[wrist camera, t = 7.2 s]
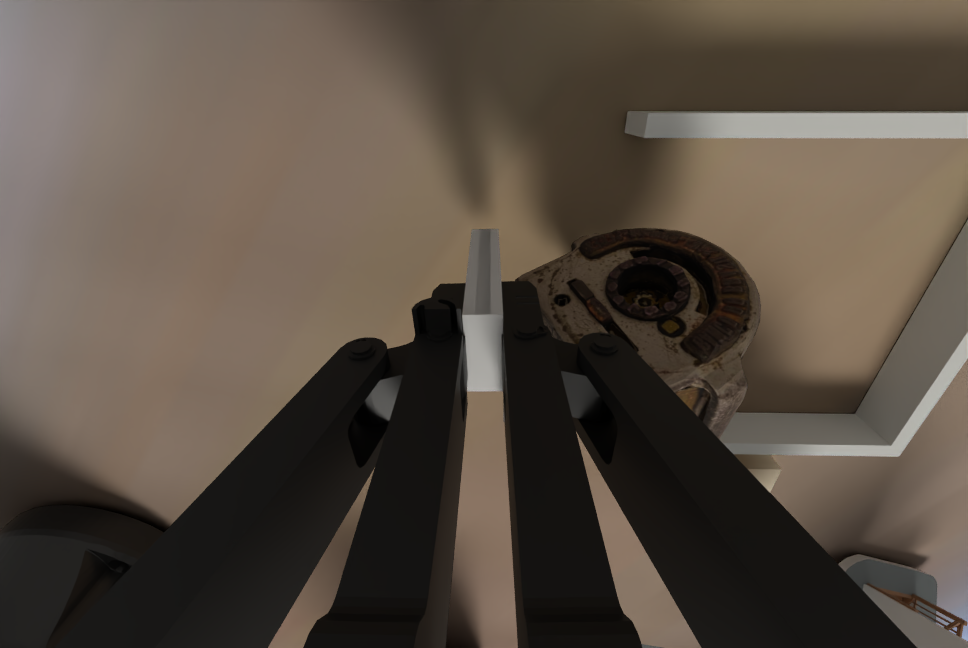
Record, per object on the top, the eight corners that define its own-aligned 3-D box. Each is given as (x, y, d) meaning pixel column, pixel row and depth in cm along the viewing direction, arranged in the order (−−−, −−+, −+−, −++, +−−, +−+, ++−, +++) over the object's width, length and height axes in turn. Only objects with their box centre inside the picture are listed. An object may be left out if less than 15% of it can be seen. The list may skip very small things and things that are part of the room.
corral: (580, 420, 24) (589, 452, 22) (627, 111, 16) (648, 112, 14) (862, 424, 24) (899, 456, 22) (1051, 110, 16) (1138, 112, 14)
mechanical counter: (603, 164, 18) (813, 195, 9) (699, 355, 23) (885, 489, 15) (472, 265, 18) (545, 386, 10) (597, 425, 24) (714, 594, 15)
